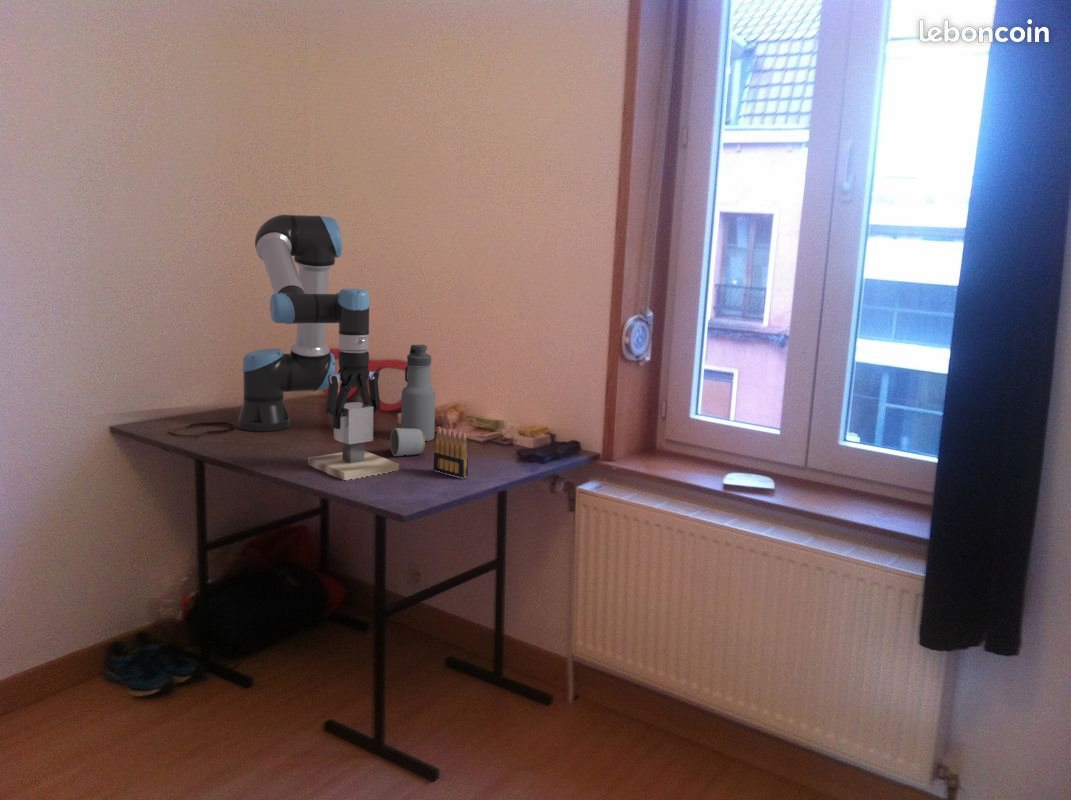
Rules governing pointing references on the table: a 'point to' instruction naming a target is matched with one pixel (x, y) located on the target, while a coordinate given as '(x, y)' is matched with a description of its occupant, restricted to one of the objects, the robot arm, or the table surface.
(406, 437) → the ceramic mug
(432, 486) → the table surface
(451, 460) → the ammunition clip
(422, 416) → the water bottle
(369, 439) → the mottled grey cube
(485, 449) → the table surface
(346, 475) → the base
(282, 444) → the table surface
